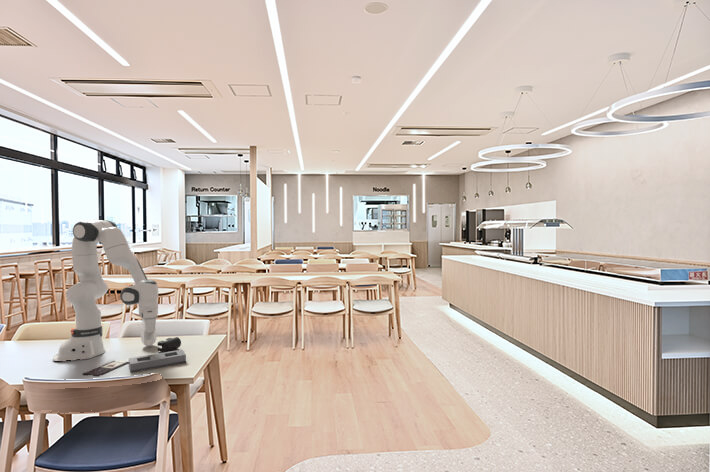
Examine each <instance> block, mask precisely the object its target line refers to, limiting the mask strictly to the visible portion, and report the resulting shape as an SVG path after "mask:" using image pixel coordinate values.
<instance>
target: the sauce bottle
mask: <svg viewBox="0 0 710 472" xmlns="http://www.w3.org/2000/svg"><path fill="white" fill-rule="evenodd" d="M143 329H144V327H143V326H142V327H141V331H140V339H141V343H142V344H143ZM157 337H158V332H157V327H156V326H155V331H154V333H153V344H148V345H144V346H145V347H147V348H149V347H152V346H153V345H154V344H155V343H156V341H157Z"/></svg>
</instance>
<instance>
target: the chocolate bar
mask: <svg viewBox="0 0 710 472" xmlns="http://www.w3.org/2000/svg"><path fill="white" fill-rule="evenodd" d="M126 365H129V361H124V360H121V361H120V360H112V361H110V362H107V363H105V364H102V365H101V366H98V367H96V368H93V369H90V370H87V371H85V372H83V373H82V374H83V375H82V376H88V375H93V376H92V377H101V376H103V375H106V374H107V373H108V374H109V373H110V372H112V371H114V370H116V369H118V368H121V367H123V366H126ZM100 375H101V376H100Z"/></svg>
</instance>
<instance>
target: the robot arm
mask: <svg viewBox="0 0 710 472" xmlns="http://www.w3.org/2000/svg"><path fill="white" fill-rule="evenodd" d="M72 235H73V239H72V245H71V257H72V258H71V259H72V271H74V273H75V274H76V275H77V277H78V279H79V282H77V283H75V284H73V285H72V286H70V287H68V289H67V290H66V292H65V298H66V300H67V301H68V302H69V303H71V305H72V308H73V311H74V314H75V328H71V329H70V334H71V337H70V338H68V339H67V340H66V341H64V342H63V343H62V344H60V347H58V348H59V349H58V352H57V354H55V355H54V356H53V358H52V361H53V360H54V361H63V362H67V361H66V360H71V361H77V360H76V359H80V360H87V359H88V360H89V359H92V358H95V357H96V356H100V355H102V354H105V353H106V348H105V347H104V341H103V335H104V334H103V325H102V312H101V310H100V309H99V308H98V306H97V303H96V300H98V299H100V298H102V297H104V296H105V294H107V293H108V289H109V287H108V284H107V282H106V281H105V280H104V279H103V277H102V274H101V271H100V267H99V260H98V259H99V258H98V250H97V249H98V248H97V247H98V246H97V245H98V244H99V243H101V245H102V247H103V251H104V253H105V257H106V259H108V261H109V262H110V263H111V264H113V265H114V266H118V267H121V268H123V269H126V270H127V271H128V272H129V274H130V276H131V277H132V279H133V282H134V284H132V285H129V286H126V287H124V288H123V289H122V290H121V292H120V300H121V302H122V303H123V304H124V305H127V306H133V305H138V317H141V319H142V321H141V323H142V327H144V329H145V332H146V334H147V340H150V339H151V333H154V331H155V327H156V323H157V322H156V321H157V318H158V315H159V304H158V298H159V286H158V283H157V281H155V280H152V279H148V278H147V275H146V274H145V271H144V269H143V267H142V266H141V263H140V261H139V259H137V257H136V256H135V255H134V254H133V252H132V250H131V248H130V246H129V243H128V240H127V239H126V237H125V234H124V233H123V231H122V230H121V228H119V227H118V226H117V224H116V223H115V222H113V221H111V220H107V219H105V220H102V219H101V220H100V219H94V220H82V221H78V222H76V223H75V224H74V225H73V227H72ZM54 361H53V362H54Z"/></svg>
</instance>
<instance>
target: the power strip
mask: <svg viewBox="0 0 710 472" xmlns="http://www.w3.org/2000/svg"><path fill="white" fill-rule="evenodd" d="M128 362H129V363H128V369H129V373H130V374H132V373H137V372H143V371H149V370H153V369H159V368H164V367H169V366H175V365H180V364H186V363H187V354H186V353H185V352H184V350H183V349H176V350H174V351H170V352H164V353H158V352H157V353H152V354H148V355H147V354H146V355H141V356H133V357H129V358H128Z"/></svg>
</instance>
